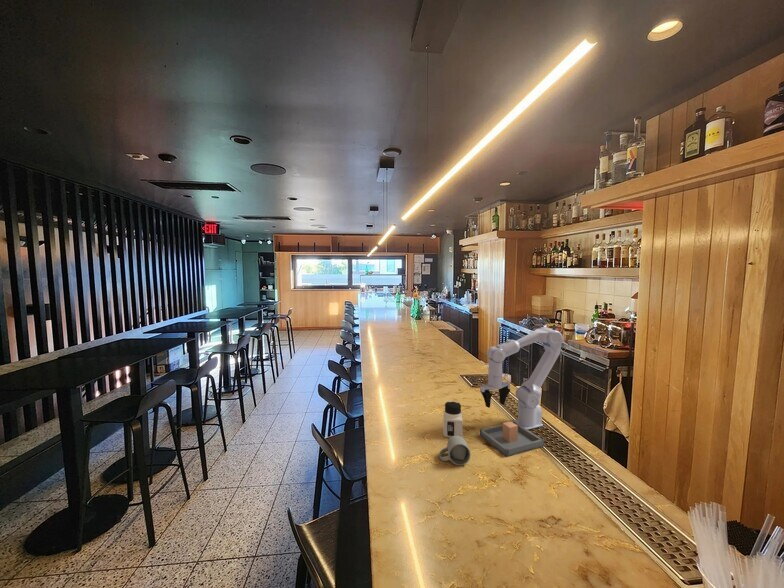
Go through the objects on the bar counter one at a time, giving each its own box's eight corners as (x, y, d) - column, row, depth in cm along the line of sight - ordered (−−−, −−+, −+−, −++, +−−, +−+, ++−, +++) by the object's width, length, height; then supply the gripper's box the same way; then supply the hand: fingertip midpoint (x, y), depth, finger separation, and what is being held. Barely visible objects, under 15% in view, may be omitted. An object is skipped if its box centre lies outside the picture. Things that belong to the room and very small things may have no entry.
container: (462, 438, 126) (462, 407, 126) (443, 436, 128) (443, 406, 127) (462, 429, 134) (462, 399, 133) (443, 427, 136) (443, 398, 135)
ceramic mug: (465, 452, 117) (465, 432, 116) (470, 465, 109) (470, 444, 108) (437, 452, 117) (437, 433, 117) (440, 466, 109) (440, 445, 109)
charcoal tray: (514, 427, 135) (514, 421, 135) (544, 446, 120) (544, 440, 120) (479, 435, 129) (479, 429, 128) (506, 456, 114) (506, 450, 113)
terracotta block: (510, 435, 127) (510, 421, 127) (517, 440, 123) (517, 425, 123) (502, 437, 126) (502, 423, 125) (509, 442, 122) (509, 427, 122)
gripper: (502, 370, 141) (502, 399, 142) (475, 374, 136) (475, 404, 137) (513, 374, 134) (513, 405, 135) (485, 379, 129) (485, 411, 130)
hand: (495, 405), depth 135 cm, fingers open, 7 cm apart
